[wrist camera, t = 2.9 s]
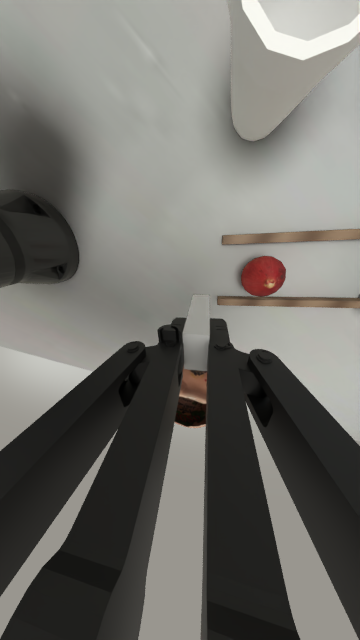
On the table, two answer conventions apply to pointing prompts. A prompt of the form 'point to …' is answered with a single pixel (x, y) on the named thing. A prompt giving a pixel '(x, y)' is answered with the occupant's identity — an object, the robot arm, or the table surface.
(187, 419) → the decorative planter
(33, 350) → the table surface
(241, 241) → the walnut guide rails
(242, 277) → the red pomegranate
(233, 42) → the foam cup
